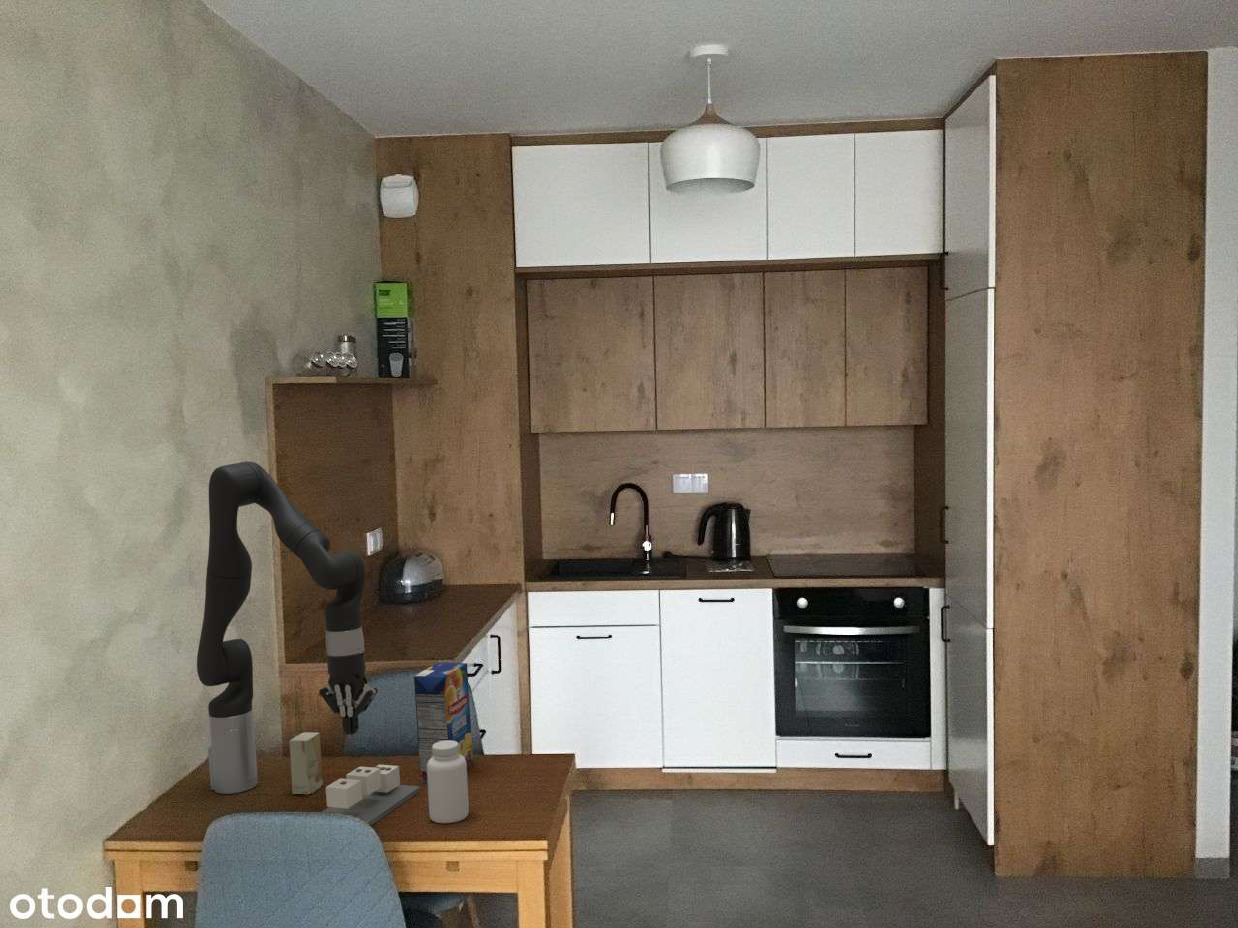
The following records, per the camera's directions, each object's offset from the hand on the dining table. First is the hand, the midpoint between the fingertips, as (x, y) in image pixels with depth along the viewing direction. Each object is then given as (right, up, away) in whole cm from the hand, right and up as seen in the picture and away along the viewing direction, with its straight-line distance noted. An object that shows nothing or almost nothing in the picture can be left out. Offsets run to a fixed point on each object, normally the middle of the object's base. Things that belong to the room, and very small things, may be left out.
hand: (351, 733), depth 212 cm
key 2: (+2, -13, +4) cm, 14 cm away
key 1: (-1, -14, -2) cm, 14 cm away
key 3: (+4, -15, +11) cm, 19 cm away
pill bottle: (+21, -17, -2) cm, 27 cm away
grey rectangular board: (+2, -17, +5) cm, 18 cm away
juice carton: (+16, -15, +23) cm, 32 cm away
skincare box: (-14, -17, +17) cm, 28 cm away
